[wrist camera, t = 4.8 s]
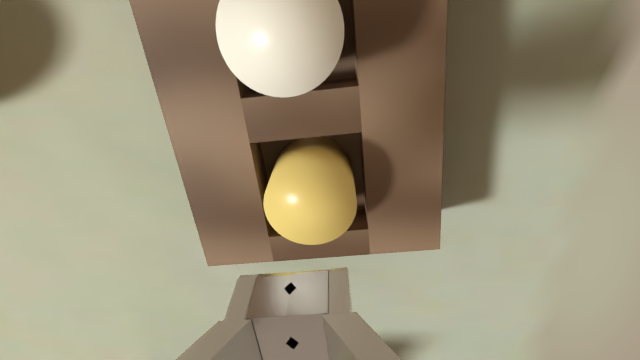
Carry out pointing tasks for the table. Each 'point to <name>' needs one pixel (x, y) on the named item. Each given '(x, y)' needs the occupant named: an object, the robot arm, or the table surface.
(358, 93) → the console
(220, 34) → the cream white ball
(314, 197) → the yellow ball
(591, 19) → the table surface
